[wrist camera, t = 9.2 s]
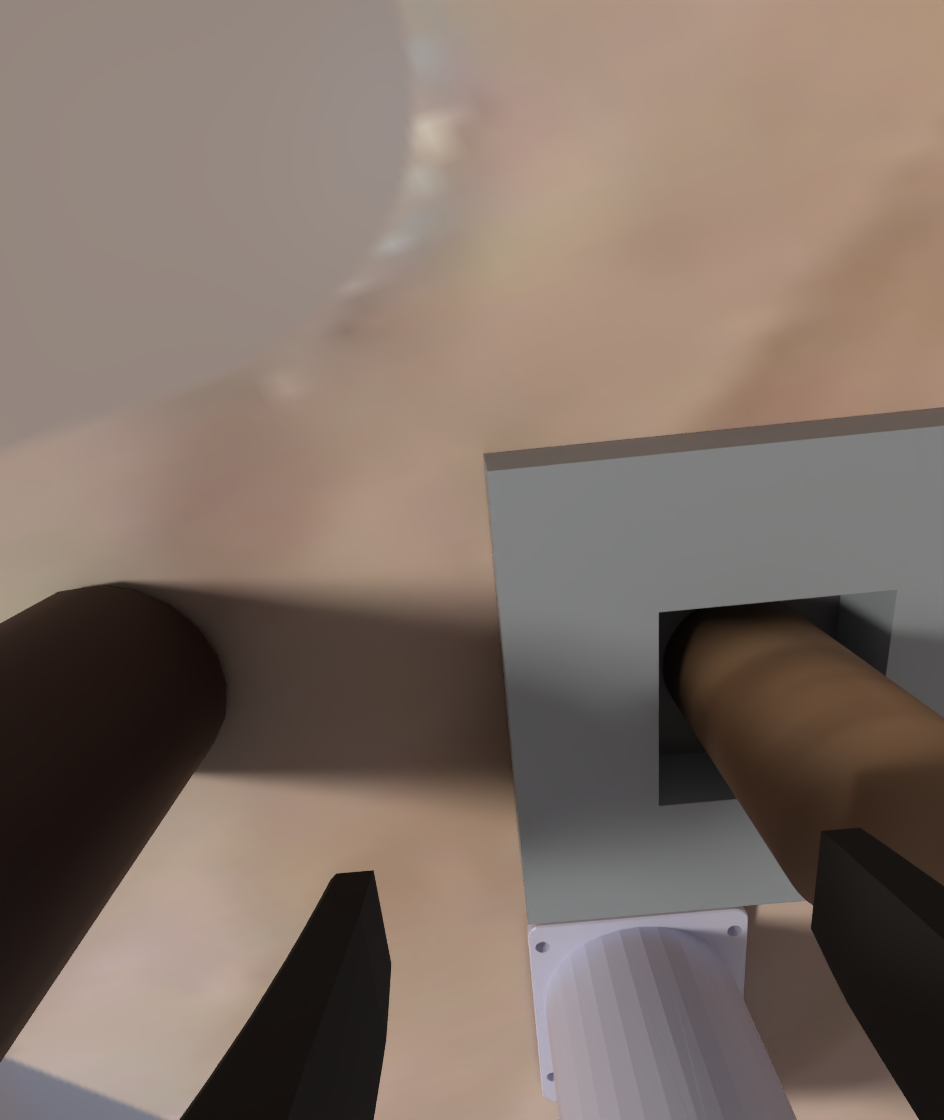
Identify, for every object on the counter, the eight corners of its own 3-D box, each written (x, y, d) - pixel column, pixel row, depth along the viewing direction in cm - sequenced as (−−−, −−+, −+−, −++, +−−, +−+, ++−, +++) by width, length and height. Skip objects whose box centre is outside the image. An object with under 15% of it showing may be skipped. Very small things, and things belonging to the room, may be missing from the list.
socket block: (917, 813, 21) (989, 884, 18) (519, 849, 21) (528, 924, 18) (984, 403, 16) (1094, 410, 14) (483, 454, 17) (487, 471, 14)
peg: (800, 720, 19) (988, 914, 12) (659, 727, 19) (770, 926, 12) (817, 588, 17) (1041, 724, 11) (666, 596, 17) (794, 738, 11)
